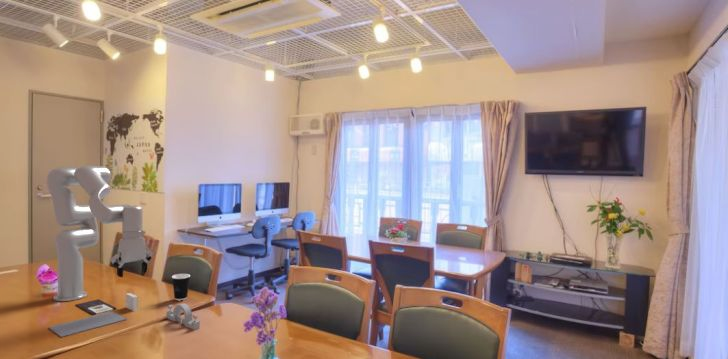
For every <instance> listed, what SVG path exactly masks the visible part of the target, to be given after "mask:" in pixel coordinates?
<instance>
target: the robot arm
mask: <svg viewBox="0 0 728 359" xmlns="http://www.w3.org/2000/svg"><path fill="white" fill-rule="evenodd" d="M111 178H112V173H111V171H110V170H109V169H108V168H107V167H106V166H102V165H83V166H80V167H71V166H70V167H69V166H68V167H67V166H66V167H63V166H62V167H56V168H54V169H51V170H50V171H49V172H48V174H47V176H46V185H47V189H48V192H49V194H50V196H51V200H52V205H53V206H52V208H53V212H54V217H55V221H56V224H57V225H58V226H59V227H72V226H75V227H76V226H80V227H76V228H68V229H64V230H61V231H59V232H58V233H57V234H56V235H55V237H54V244H55V248H56V254H57V256H56V257H57V294H55V295H53V300H54V301H55V302H70V301H76V300H79V299H82V298H85V297H87V295H88V292H87V291H85V290H84V258H83V255H82V253H81V252H80V251H79V249H83V248H89V247H93V246H95V245H97V243H98V242H99V239H100V233H99V228H98V227H99V226H98V222H100V223H102V224H105V225H106V224H107V225H108V224H114V223H122V224H121V226H122V229H121V231H122V233H121V234H122V237H121V238H120V239H119V242H118V247H117V248H118V249H117V253H116V254H115V255H113V256H112V257H110V258H109V261H110V262H111V263H112V265H113V266H114V267H116V274H117V275H116V276H118V277H119V278H124V267H123V266H124V264H125V263H131V262H140V261H141V272H142V273H144V274H146V273H147V272H148V271H147V270H148V264H149V262H150V260H151V259H152V257H153V255H154V252H153V251H150V250H149V249H147V246H146V241H145V237H144V235H145V234H146V230H143V208H142V207H141V206H140V205H139V206H138V205H130V204H113V205H106V204H105V203H104V202H103V201H102V200H103V199H104V198H106V197H107V196H108V195H109V194H110V192H111V187H110V185H109V184H108V183H109V182H110V181H111ZM70 186H71V187H72V186H77V187H78V186H80V187H81V188H82V189H83V190H84V191H85V193H87V195H89V199H88V204H77V202H76V197H75V194H74V192H73V191H72V190H71V189H70V188H69V187H70ZM97 221H98V222H97Z"/></svg>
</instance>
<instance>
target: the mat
mask: <svg viewBox="0 0 728 359" xmlns="http://www.w3.org/2000/svg"><path fill="white" fill-rule="evenodd" d="M123 321H124V322H125V321H128V320H127V318H126V317H124V316H122V315H121V314H118V313H117V312H115V311H114V310H112V311H108V312H104V313H100V314H96V315H91V316H88V317H84V318H80V319H77V320H72V321H68V322H63V323H60V324H55V325H53V326H49V327H48V329H50V330H51V332H53V333H55V334H56V335H58V337H60V338H63V337H68V336H72V335H75V334H80V333H83V332H86V331H90V330H94V329H98V328H102V327H106V326H109V325H112V324H116V323H120V322H123Z"/></svg>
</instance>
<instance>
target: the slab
mask: <svg viewBox="0 0 728 359" xmlns="http://www.w3.org/2000/svg"><path fill="white" fill-rule="evenodd" d="M138 298H139V297H138V296H137V295H136V294H133V293H132V292H129V293H128V292H127V293H125V308H126V309H128V310H131V311H133V312H136V311H138V309H139V308H138V306H139V299H138Z"/></svg>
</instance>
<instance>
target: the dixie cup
mask: <svg viewBox="0 0 728 359" xmlns="http://www.w3.org/2000/svg"><path fill="white" fill-rule="evenodd" d="M171 278H172V285H173V298H174V299H175V301H176V300H183V301H186V300H187V297H188V294H189V293H188V292H189V286H190V278H191V274H189V273H177V274H173V275H172V276H171ZM185 299H186V300H185Z"/></svg>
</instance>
